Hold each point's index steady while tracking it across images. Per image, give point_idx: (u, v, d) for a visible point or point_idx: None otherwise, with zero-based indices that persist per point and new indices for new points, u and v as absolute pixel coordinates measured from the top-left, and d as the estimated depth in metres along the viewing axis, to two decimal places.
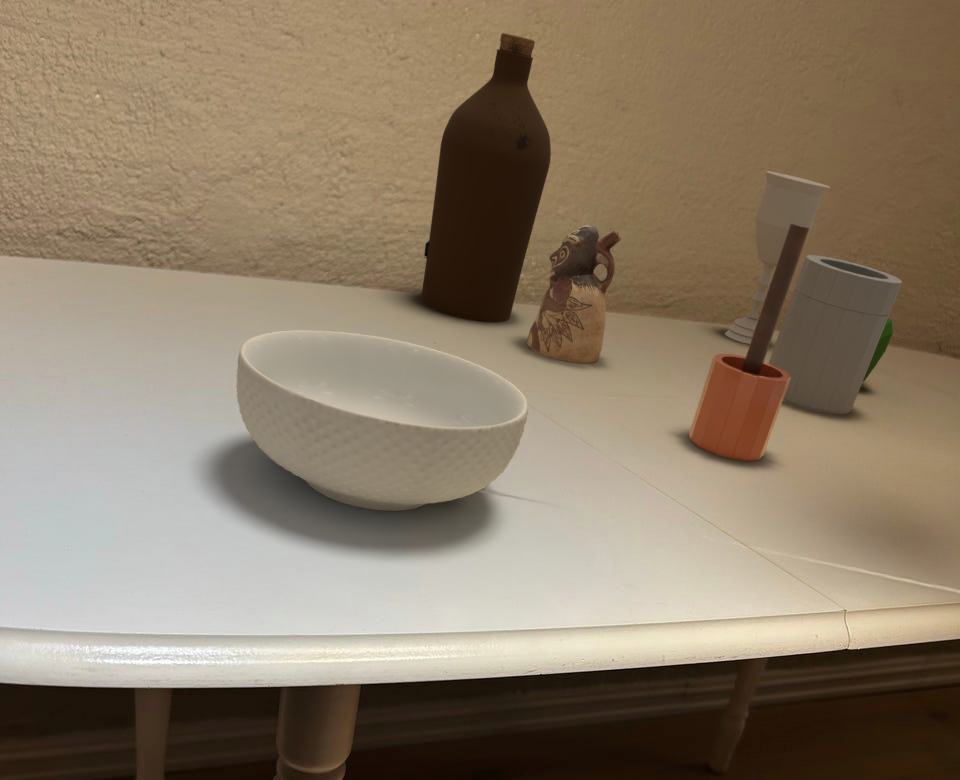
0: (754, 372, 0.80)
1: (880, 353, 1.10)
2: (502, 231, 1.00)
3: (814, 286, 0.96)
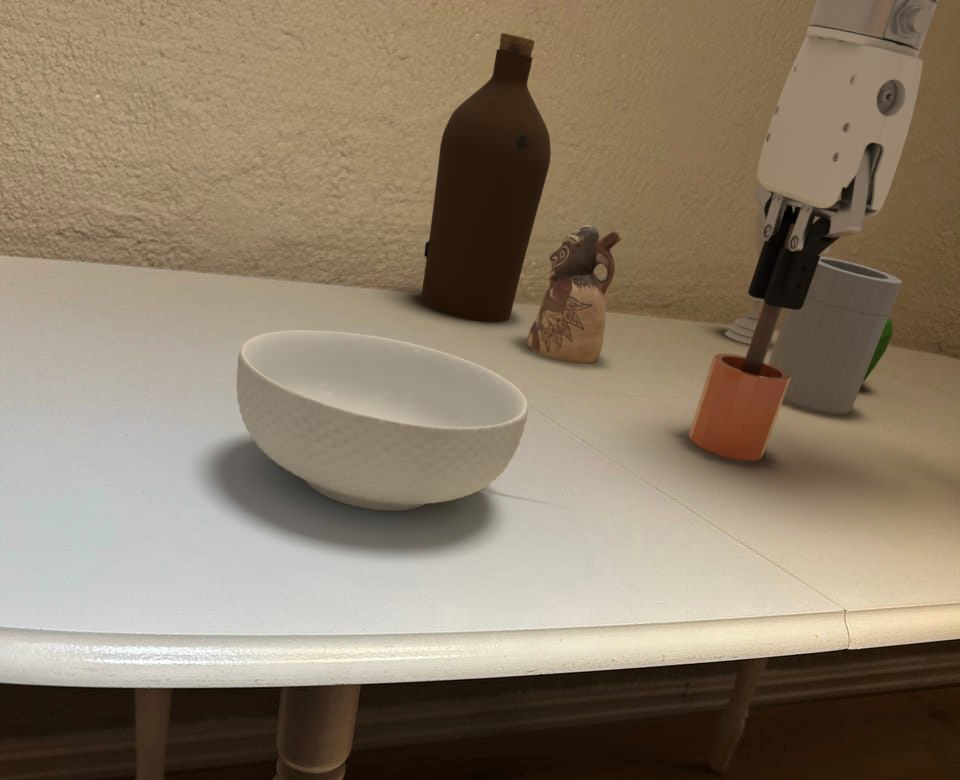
0: (754, 372, 0.80)
1: (880, 353, 1.10)
2: (502, 231, 1.00)
3: (814, 286, 0.96)
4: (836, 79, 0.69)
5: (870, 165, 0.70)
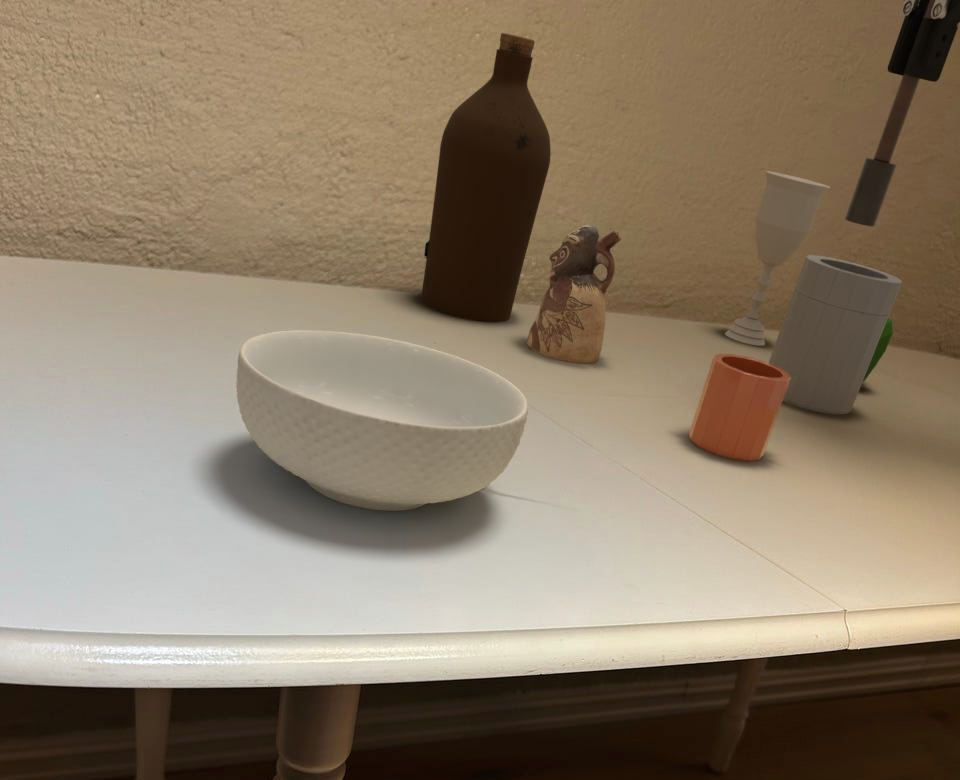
0: (891, 145, 0.87)
1: (880, 353, 1.10)
2: (502, 231, 1.00)
3: (814, 286, 0.96)
4: None
5: None
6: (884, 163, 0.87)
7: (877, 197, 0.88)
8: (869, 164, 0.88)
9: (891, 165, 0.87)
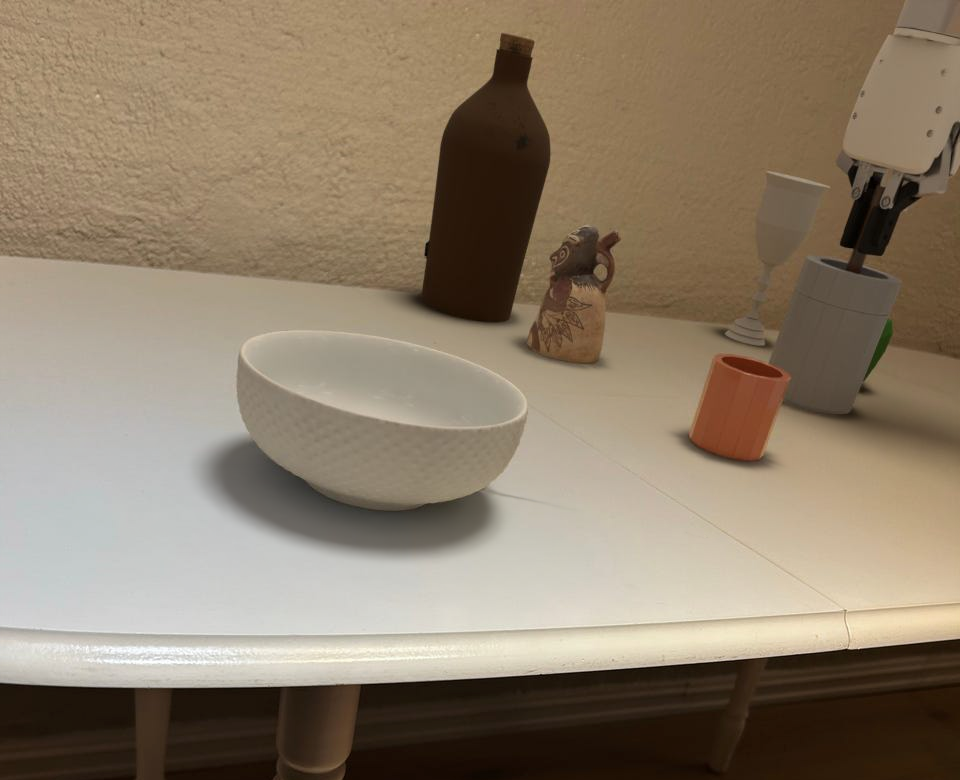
0: None
1: (880, 353, 1.10)
2: (502, 231, 1.00)
3: (814, 286, 0.96)
4: (927, 71, 0.87)
5: (951, 139, 0.89)
6: None
7: None
8: None
9: None
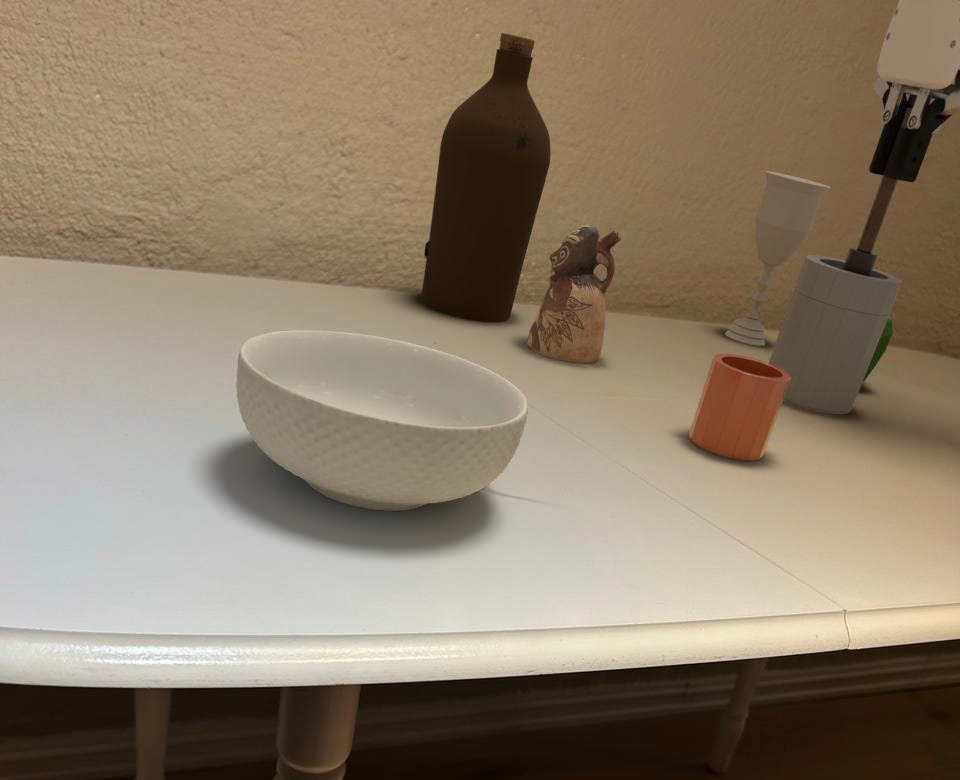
0: (872, 238, 0.95)
1: (880, 353, 1.10)
2: (502, 231, 1.00)
3: (814, 286, 0.96)
4: None
5: None
6: (866, 254, 0.96)
7: None
8: (852, 254, 0.96)
9: (872, 255, 0.96)
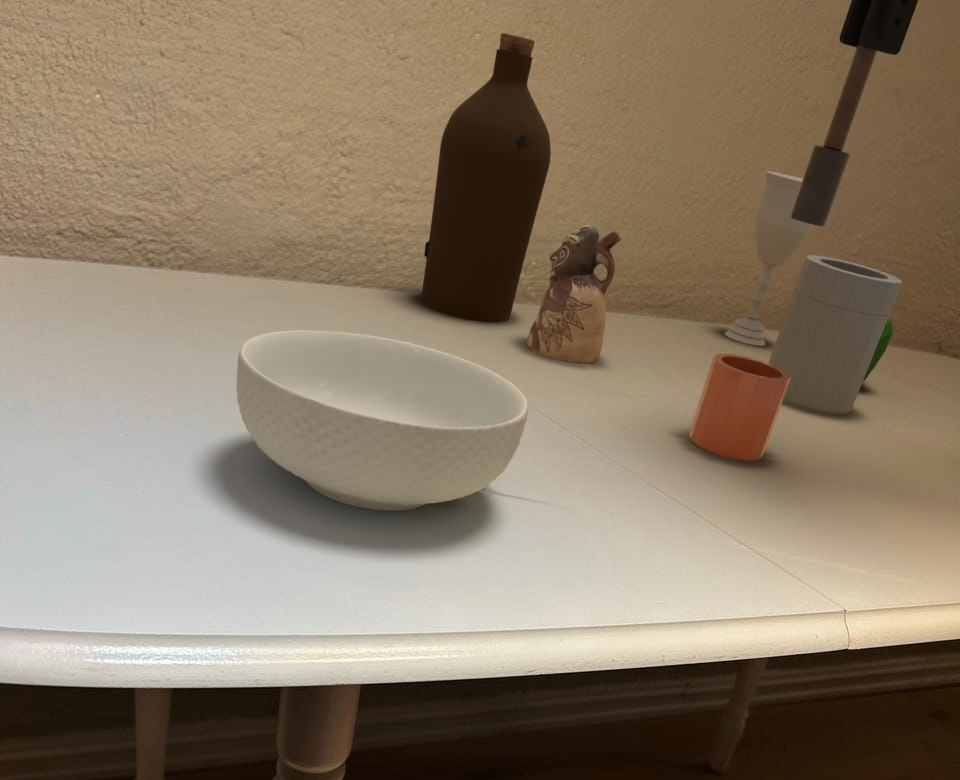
0: (843, 130, 0.73)
1: (880, 353, 1.10)
2: (502, 231, 1.00)
3: (814, 286, 0.96)
4: None
5: None
6: (835, 151, 0.74)
7: (827, 191, 0.75)
8: (817, 152, 0.74)
9: (843, 153, 0.74)
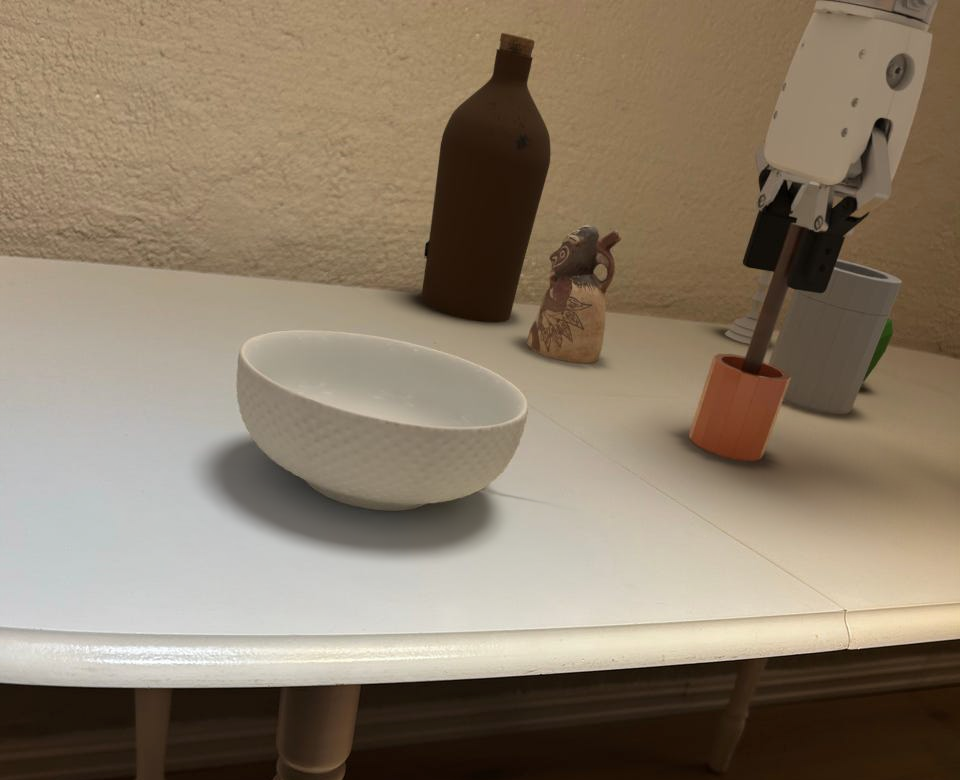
0: (754, 371, 0.80)
1: (880, 353, 1.10)
2: (502, 231, 1.00)
3: None
4: (845, 54, 0.68)
5: None
6: None
7: None
8: None
9: None
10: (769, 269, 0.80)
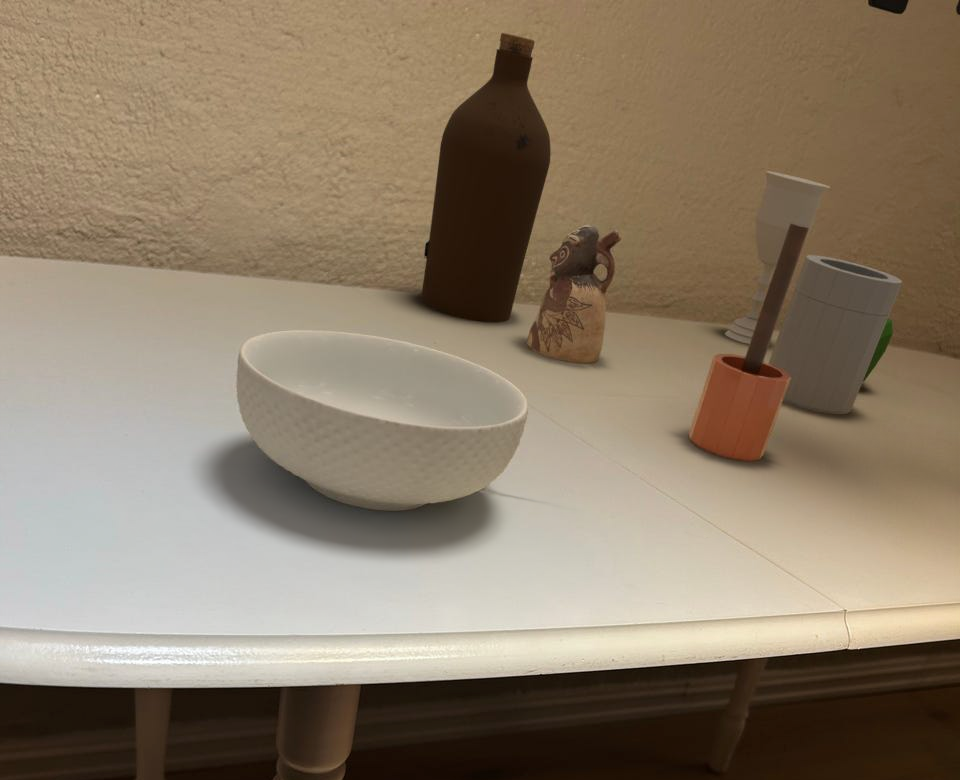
0: (754, 371, 0.80)
1: (880, 353, 1.10)
2: (502, 231, 1.00)
3: (814, 286, 0.96)
4: None
5: None
6: None
7: None
8: None
9: None
10: (894, 10, 0.79)
